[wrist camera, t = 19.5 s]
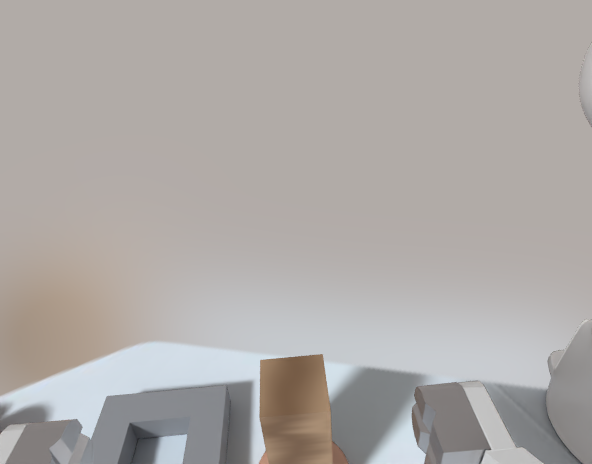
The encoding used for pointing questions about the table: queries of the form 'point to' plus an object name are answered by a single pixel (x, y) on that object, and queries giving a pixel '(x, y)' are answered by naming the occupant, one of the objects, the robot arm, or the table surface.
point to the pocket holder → (164, 423)
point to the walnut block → (295, 410)
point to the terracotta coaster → (337, 456)
